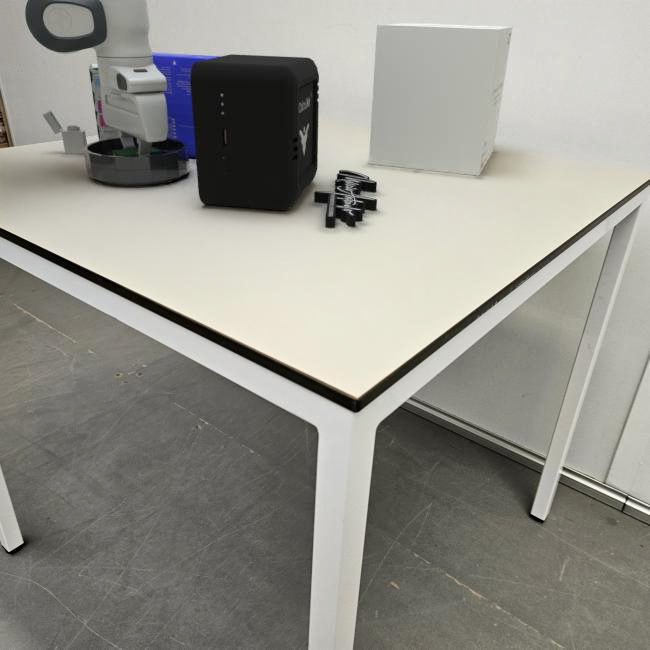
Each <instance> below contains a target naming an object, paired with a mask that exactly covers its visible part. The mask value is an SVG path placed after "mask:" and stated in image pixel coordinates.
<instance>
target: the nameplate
mask: <svg viewBox="0 0 650 650" xmlns="http://www.w3.org/2000/svg"><path fill="white" fill-rule="evenodd" d="M377 186H378V182H377V181H375V180H373V179H371V178H370V177H369V176H368V175H366V174H364V173H360V172H357V171H354V170H349V169H339V171H338V173H336V179H335V180H334V191H328V190H327V191H324V190H316V191H314V192H313V193H314V194H313V196H314V197H313V201H314V203H322V204H326V211H325V223H324V224H325V227H326V228H329V229H331V228H332V229H333V228H335V227H336V219H339V220H340V222H344V223H346V225H347V226H348V227H352V228H353V227H356V226H357V225H356V223H357V222H362V221H363V218H364V214H365V212H366V210H367V211H377V207H378V206H377V205H378V199H377V198H373V197H369V196H364V195H361V193H362V192H367V193H377V188H378V187H377Z"/></svg>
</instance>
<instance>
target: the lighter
mask: <svg viewBox="0 0 650 650" xmlns="http://www.w3.org/2000/svg"><path fill="white" fill-rule="evenodd" d="M42 117H43V118H44V120H45V121H46V123H47V124H48V126H49V127H50V129H51V130H52V132H53V134H55V135H57V134H60V133H61V137H62V138H61V139H62V142H63V143H62V144H63V148H64V153H65V155H79V154H80V155H84V146H86V145H88V141H87V140H88V139H87V135H86V130H85V129H81V127H80V126H79V125H77V124H68V125H66V129H64V128H63V126H62V125H61V123H60V122H59V120H58V119H57V118H56V116H55V114H54V113H53V111H52V110H48V111H46V112H44V113H42Z"/></svg>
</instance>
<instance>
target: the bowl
mask: <svg viewBox="0 0 650 650" xmlns="http://www.w3.org/2000/svg"><path fill="white" fill-rule="evenodd" d="M132 138H133V142H134V146H136V148H138V146H139V144H138V143H137V138H136V137H132ZM151 147H153V148H155V149H157V150H160V151H161V154H159V155H150V156H113V152H112V151H113V150H122V149H124V147H123V145H122V142H121V139H120V138H112V139H106V140H100V141H99V140H97V141H93V142H90V143H87V145H86V146H84V154H83V155H84V161H85V168H86V172H87V176H88V177H90V178H92V179H93V180H97V181H98V182H100V183H104V184H106V185H112V186H122V187H142V186H153V185H161V184H166V183H170V182H173V181H176V180H179V179H180V178H181V177H183V176H184V175H187V174H188V173H189V172H190V170H191V167H190V157H189V152H188V145H187V144H186V142H183V141H180V140H177V139H171V138H166V140H164V141H158V142H152V146H151Z"/></svg>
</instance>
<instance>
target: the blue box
mask: <svg viewBox="0 0 650 650" xmlns="http://www.w3.org/2000/svg"><path fill="white" fill-rule="evenodd" d="M152 54H153V63H154V64H155V66H156V68H157V69H158V70H159V71H160V72H161V73H162V74H163V75H164V76H165V78H166V81H167V90H166V91H162V92H163V93H164V95H165V98H166V104H167V115H168V135H167V138H171V139H177V140H180V141H183V142H186V144H187V145H188V152H189V158H195V159H196V151H195V137H194V124H193V110H192V96H191V83H190V75H191V69H192V66H193V64H194V63H195V62H196V61H201V60H206V59H211V58H216V57H221V56H222V55H219V56H218V55H204V54H189V53H168V52H152ZM132 137H134V136H132Z"/></svg>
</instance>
